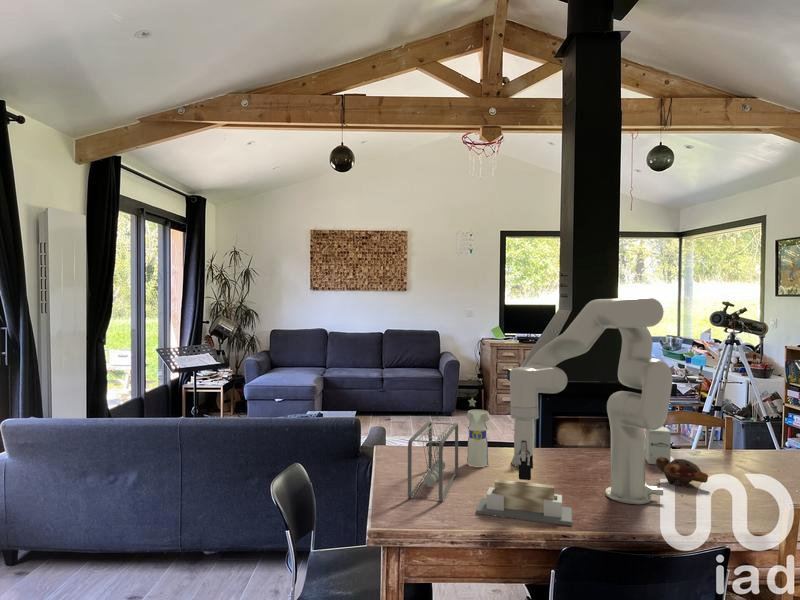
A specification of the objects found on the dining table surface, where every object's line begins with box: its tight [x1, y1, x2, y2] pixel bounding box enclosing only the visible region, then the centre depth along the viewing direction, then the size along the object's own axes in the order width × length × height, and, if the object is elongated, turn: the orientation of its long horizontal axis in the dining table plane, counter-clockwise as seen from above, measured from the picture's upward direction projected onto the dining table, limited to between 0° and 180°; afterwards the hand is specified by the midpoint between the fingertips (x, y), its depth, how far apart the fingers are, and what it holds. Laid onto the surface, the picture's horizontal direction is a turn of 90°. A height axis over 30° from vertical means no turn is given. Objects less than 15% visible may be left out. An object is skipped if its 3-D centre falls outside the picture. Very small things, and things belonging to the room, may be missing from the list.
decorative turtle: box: [655, 457, 709, 488], centre depth 165 cm, size 10×15×8 cm, turn 51°
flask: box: [510, 454, 519, 467], centre depth 185 cm, size 7×7×10 cm
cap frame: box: [476, 486, 573, 527], centre depth 141 cm, size 25×10×5 cm, turn 72°
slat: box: [494, 479, 555, 513], centre depth 141 cm, size 16×2×7 cm, turn 72°
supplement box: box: [645, 426, 672, 465], centre depth 189 cm, size 7×7×13 cm
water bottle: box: [466, 397, 491, 466], centre depth 185 cm, size 8×9×25 cm
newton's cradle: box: [407, 420, 459, 502], centre depth 163 cm, size 30×10×18 cm, turn 164°
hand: (526, 473), depth 142 cm, fingers open, 9 cm apart
